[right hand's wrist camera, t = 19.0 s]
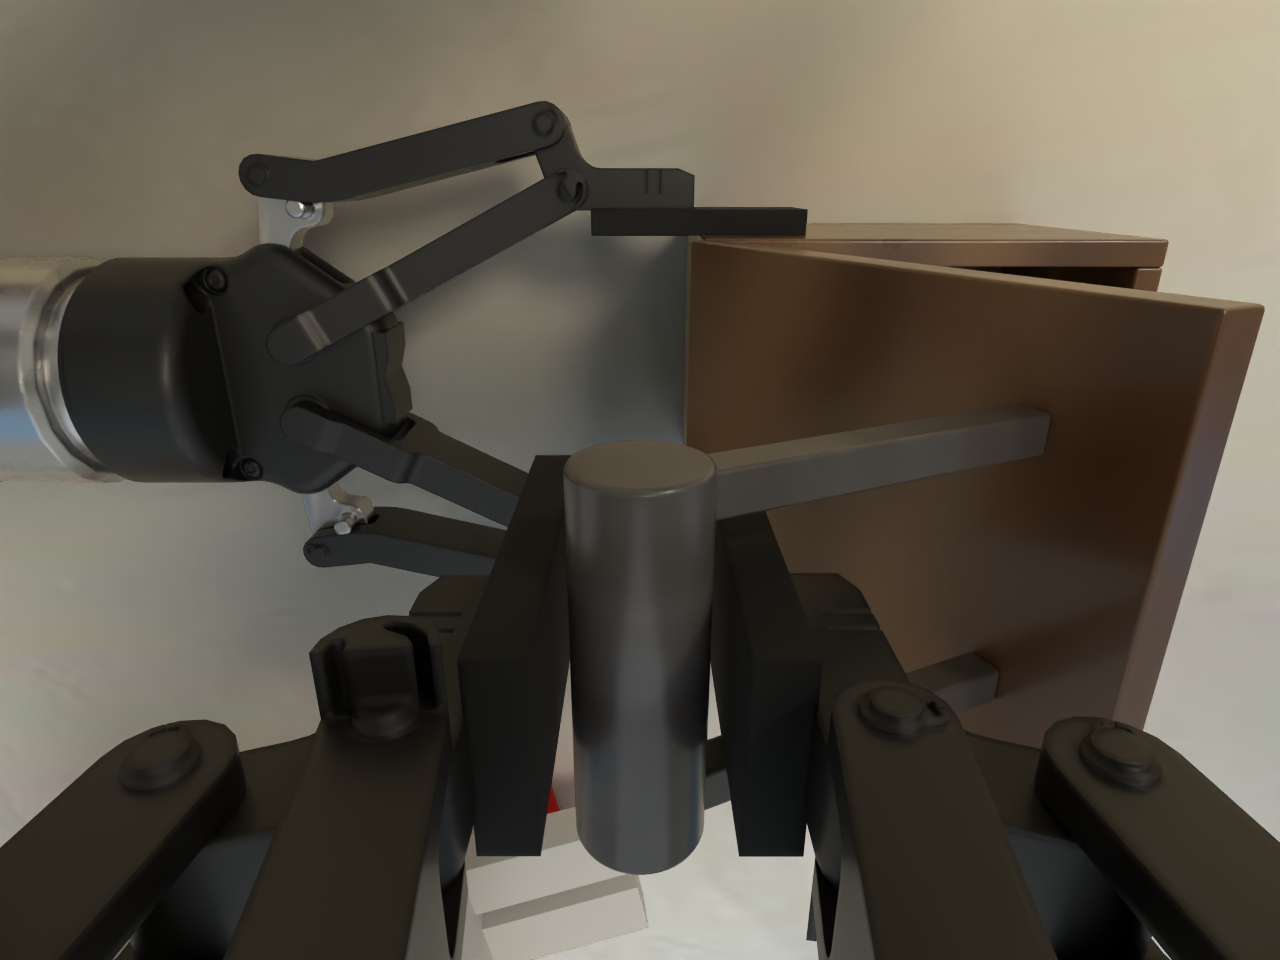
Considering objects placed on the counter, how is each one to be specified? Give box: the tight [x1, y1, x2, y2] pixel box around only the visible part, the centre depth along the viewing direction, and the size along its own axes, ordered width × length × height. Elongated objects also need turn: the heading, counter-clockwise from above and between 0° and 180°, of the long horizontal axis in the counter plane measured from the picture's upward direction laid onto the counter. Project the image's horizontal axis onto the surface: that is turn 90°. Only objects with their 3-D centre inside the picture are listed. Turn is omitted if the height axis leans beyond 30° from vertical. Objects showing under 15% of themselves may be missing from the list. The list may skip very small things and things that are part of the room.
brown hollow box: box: [683, 223, 1168, 446], centre depth 28 cm, size 13×9×10 cm
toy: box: [113, 786, 648, 960], centre depth 37 cm, size 12×13×30 cm
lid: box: [563, 240, 1265, 875], centre depth 16 cm, size 14×9×9 cm
